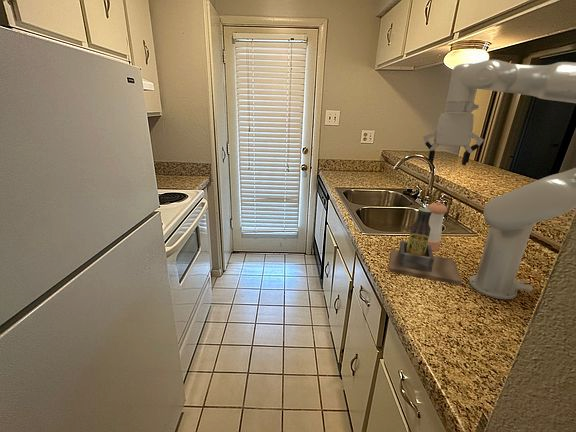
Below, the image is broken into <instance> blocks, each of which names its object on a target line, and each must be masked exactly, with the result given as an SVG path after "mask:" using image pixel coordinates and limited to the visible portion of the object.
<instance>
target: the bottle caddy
mask: <svg viewBox="0 0 576 432" xmlns="http://www.w3.org/2000/svg"><path fill="white" fill-rule="evenodd" d="M407 244H408V241H406V240H405V241H404V240H400V243H399V249H395V248H394V249H393V248H391V249H390V255H389V256H390V257H389V258H390V259H389V270H388V271H389V273H392V274H398V275H404V276H410V277H414V278H420V279H426V280H429V281H436V282H440V283H441V282H442V283H447V284H452V285H455V286H462V284H463V283H462V282H463V281H462V278H461V275H460V272H459V269H458V267H457V264H456V261H455V259H454V258H448V257H443V256H437V255H434V253H433V250H432V248H431V245H427V248H426V252H425V256H421V255H414V254H408V253H406V249H407Z"/></svg>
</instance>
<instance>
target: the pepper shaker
mask: <svg viewBox="0 0 576 432" xmlns="http://www.w3.org/2000/svg"><path fill="white" fill-rule="evenodd" d="M427 209H429V210H431V211H432V213H431V215H430V219H429V226H430V229H431V230H430V235H429V240H428V244H427V245H431V248H432V251H438V250H439V249H440V247H441V238H442V237H441V236H442V234H443V233H442V232H443V231H442V230H443V222H444V216H445V214H446V213H447V212H448V208H447V206H446V205H444V204H443V203H441V202H440V201H437V202H433V203H430V204H428V206H427Z"/></svg>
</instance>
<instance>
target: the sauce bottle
mask: <svg viewBox="0 0 576 432" xmlns="http://www.w3.org/2000/svg"><path fill="white" fill-rule="evenodd" d="M431 213H432V211H431V210H429V209H428V208H424V207H421V208H419V209H418V211H417V219H416V221H415V222H414V223H413V224H412V225H411V228H410V232H409V237H408V241H407V242H408V244H407V249H406V253H408V254H414V255H421V256H425V252H426V248H427V244H428V240H429V235H430V230H431V229H430V226H429V219H430V215H431Z"/></svg>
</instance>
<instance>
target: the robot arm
mask: <svg viewBox="0 0 576 432" xmlns="http://www.w3.org/2000/svg"><path fill="white" fill-rule="evenodd" d="M448 86H449V88H448V93H447V97H446V103H445V106H444V107H445V108H444V112H441V114H440V116H439V118H438V122H437V125H436V129H435V131H433V132H431V133H428V134H425V135H423V137H422V138H423V141H424V143H425V146H426V147H427V148H428V149H429V154H428V159H427V160H428V161H429V163H430V164H434V158H435V153H436V151H435V149H436V148H438V147H439V146H443V147H444V146H446V147H463V148H464V149H465V151H464V152H463V156H462V160H461V165H463V166H467V164H469V160H470V158H471V157H470V156H471V154H472V153H473V152H474V151H476V150H477V149H478V148H479V147H480V146H481V145H482V144H483V142H484V138H482V137H480V135H477V134H475V133H474V132H473V129H474V121H475V120H474V119H475V115H474V113H473V111H475V110H478V109H479V106H480V105H479V104H475V99H476V95H477V90H486V91H492V92H493V91H494V92H501V93H509V94H517V95H523V96H532V97H536V98H538V99H541V100H546V101H547V100H548V101H557V102H565V103H573V104H576V62H572V61H559V62H555V63H551V64H546V65H545V64H544V65H541V64H540V65H535V64H518V63H510V62H507V61H504V60H500V59H489V60H483V61H480V62H476V63H461V64H458V65H456V66H454V67H453V68H452V71H451V76H450V82H449V85H448ZM433 137H434V139H433V144H431V142H430V141H429V140H430V139H431V138H433ZM472 139H473V140H475V141H476V142H475V143H474V144H473V145H471V146H470V144H471V142H472ZM575 208H576V167H573V168H571V169H568V170H565V171H563V172H558V173H555V174H551V175H548V176H545V177H542V178H540V179H537V180H535V181H533V182H531V183H528V184H525V185H523V186H521V187H518V188H516V189H513V190H510V191H508V192H506V193H504V194H503V193H502V194H501V195H499V196H498V195H497V197H494V198H492V199H491V200H489V201H488V202H487V204H486V205H485V207H484V209H483V218H484V221H485V222H486V223H487V225H488V226H489V227H490V228H489V230H488V234H487V237H486V240H485V243H484V247H483V252H482V254H481V257H480V262H479V264H478V265H479V266H478V268H477V272H476V274H474V275H471V276H470V277H469V280H468V282H469V285H470V286H471V288H473V289H474V290H475V291H477V292H479V293H481V294H482V295H484V296H487V297H491V298H494V299H498V300H512V299H515V298H516V297H517V294H518V291H521V290H522V291H525V292H529V293H531V292H533V285H531V284H525V281H524V280H516V278H517V277H516V276H517V274H518V270H519V267H520V265H521V261H522V259H523V257H524V256H523V255H524V253H525V249H526V247H527V244H528V241H529V239H530V235H531V233H532V230H533V228H534V226H535V224H538V223H540V222H543V221H547V220H550V219H553V218H557V217H559V216H562V215H564V214H567V213H569V212H571V211H573V210H574V209H575Z"/></svg>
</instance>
